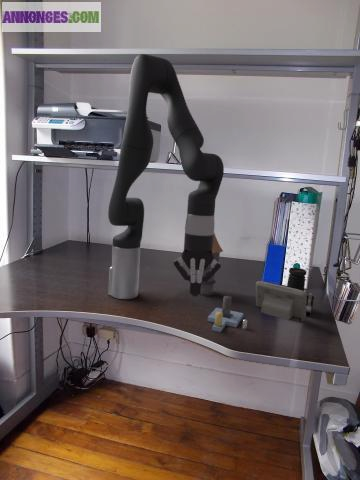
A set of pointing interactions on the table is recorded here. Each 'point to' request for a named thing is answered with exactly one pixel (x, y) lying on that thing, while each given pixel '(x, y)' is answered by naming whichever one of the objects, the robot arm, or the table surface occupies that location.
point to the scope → (300, 286)
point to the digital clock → (281, 300)
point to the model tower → (208, 286)
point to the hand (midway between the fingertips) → (194, 295)
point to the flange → (224, 319)
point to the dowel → (244, 324)
